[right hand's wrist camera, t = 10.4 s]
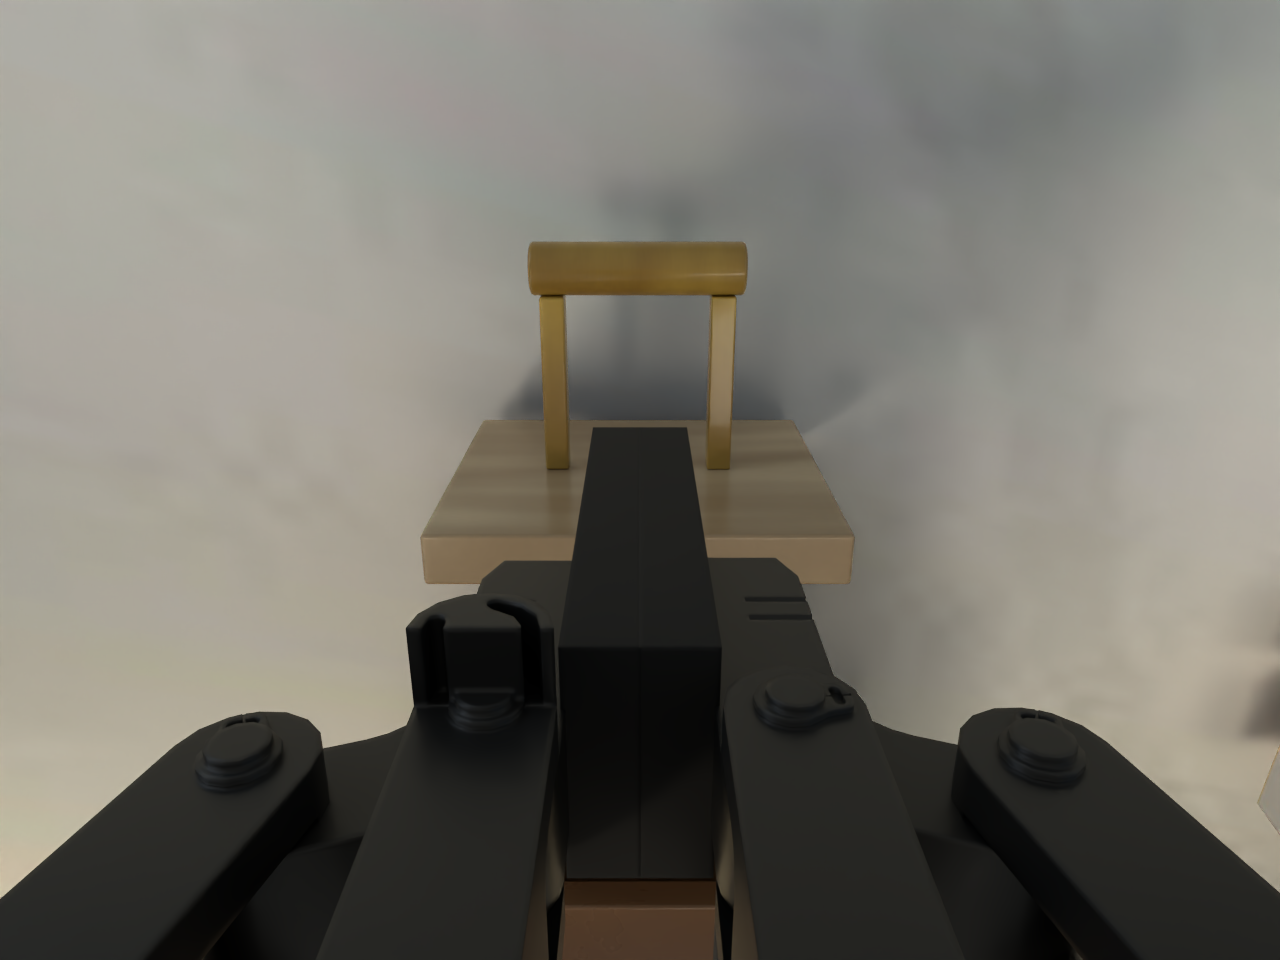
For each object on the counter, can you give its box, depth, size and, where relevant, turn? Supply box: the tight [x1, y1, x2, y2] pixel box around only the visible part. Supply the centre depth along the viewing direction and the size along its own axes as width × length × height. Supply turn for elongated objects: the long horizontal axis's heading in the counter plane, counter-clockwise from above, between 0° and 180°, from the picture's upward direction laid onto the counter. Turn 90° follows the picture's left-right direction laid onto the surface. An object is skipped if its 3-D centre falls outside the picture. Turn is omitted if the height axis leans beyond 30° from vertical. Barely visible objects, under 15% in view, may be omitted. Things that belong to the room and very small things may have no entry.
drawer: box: [420, 242, 855, 881], centre depth 26 cm, size 24×9×8 cm, turn 0°
